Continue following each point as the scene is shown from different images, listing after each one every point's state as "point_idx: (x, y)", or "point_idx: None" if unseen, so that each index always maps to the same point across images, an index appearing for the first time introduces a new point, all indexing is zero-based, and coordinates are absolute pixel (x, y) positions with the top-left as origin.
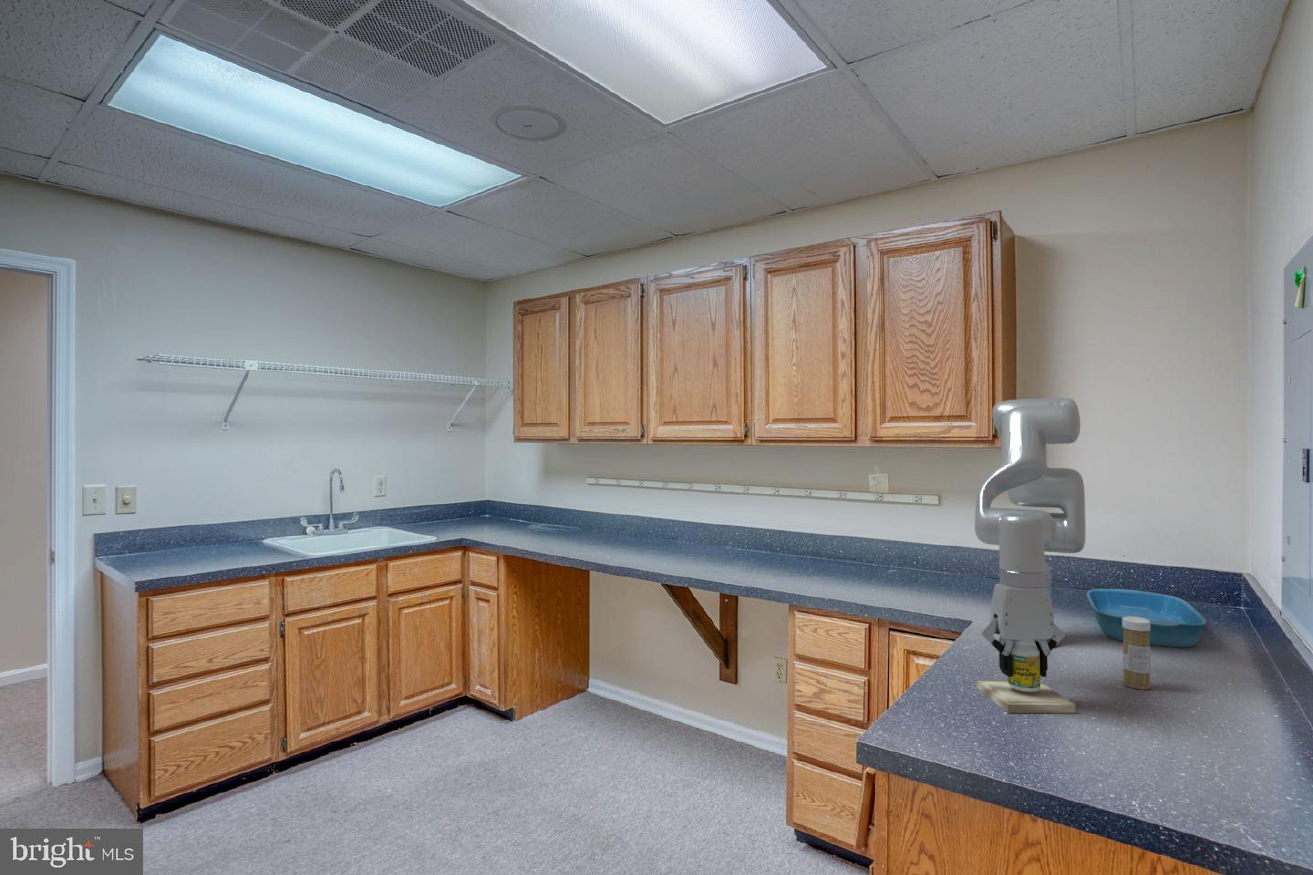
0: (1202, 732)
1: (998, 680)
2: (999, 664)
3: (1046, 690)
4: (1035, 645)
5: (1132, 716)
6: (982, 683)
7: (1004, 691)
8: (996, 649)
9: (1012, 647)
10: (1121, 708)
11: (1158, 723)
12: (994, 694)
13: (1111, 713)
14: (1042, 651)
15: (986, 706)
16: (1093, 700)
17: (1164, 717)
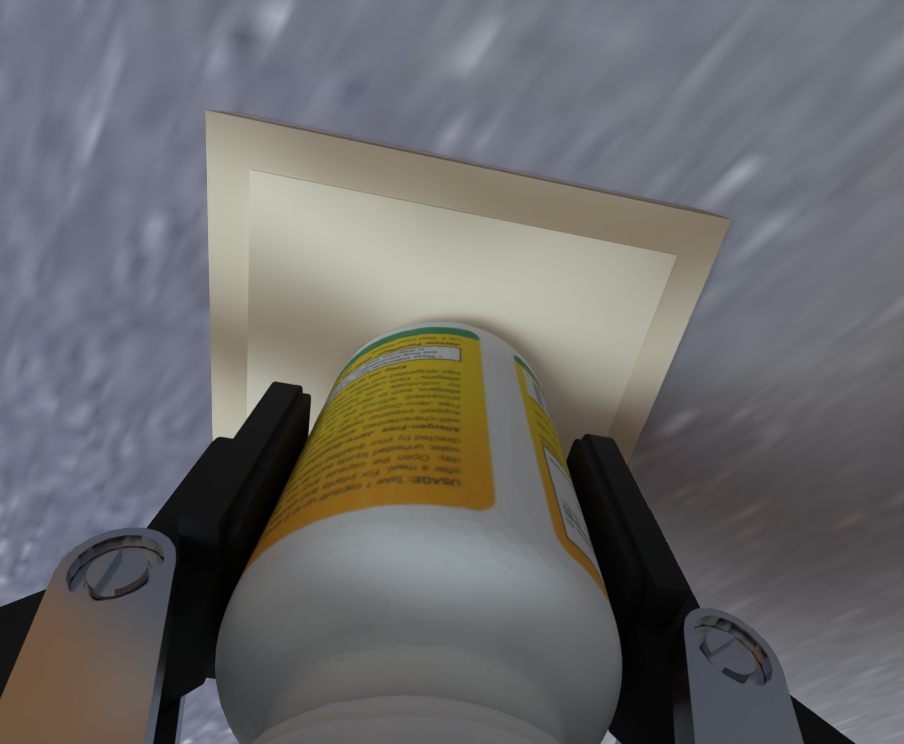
0: (861, 719)
1: (403, 151)
2: (206, 452)
3: (595, 415)
4: (680, 693)
5: (784, 604)
6: (224, 190)
7: (298, 382)
8: (85, 541)
9: (237, 729)
10: (841, 540)
11: (804, 658)
12: (213, 395)
13: (730, 571)
14: (625, 742)
15: (156, 412)
16: (824, 445)
17: (900, 628)
